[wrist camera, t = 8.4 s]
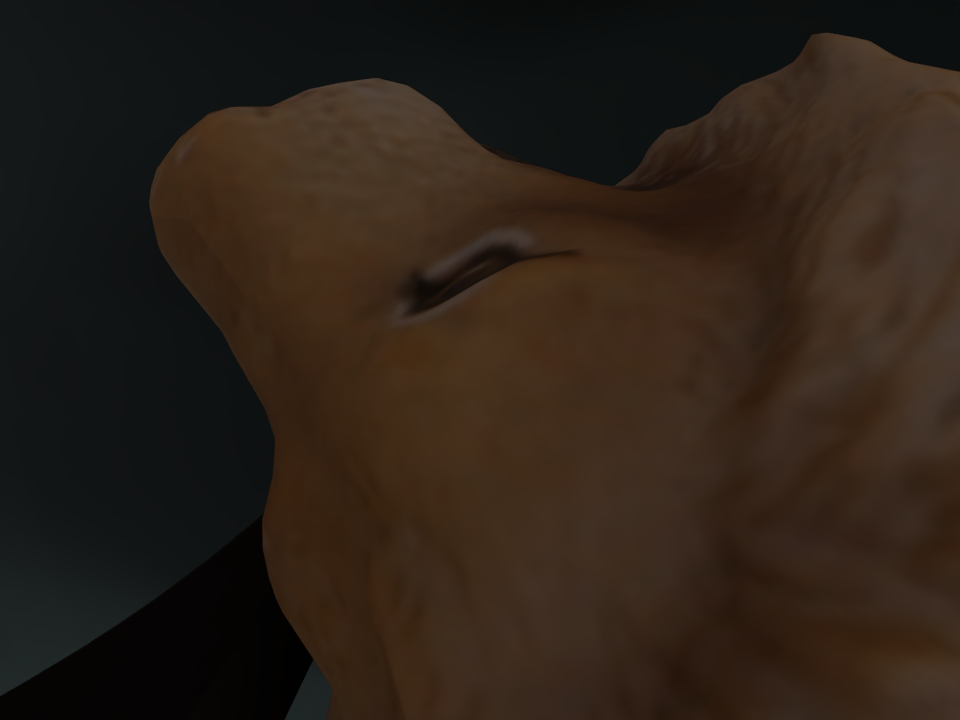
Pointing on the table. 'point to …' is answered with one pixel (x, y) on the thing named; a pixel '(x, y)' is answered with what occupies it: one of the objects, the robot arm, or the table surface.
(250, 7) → the table surface
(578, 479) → the lion figurine
